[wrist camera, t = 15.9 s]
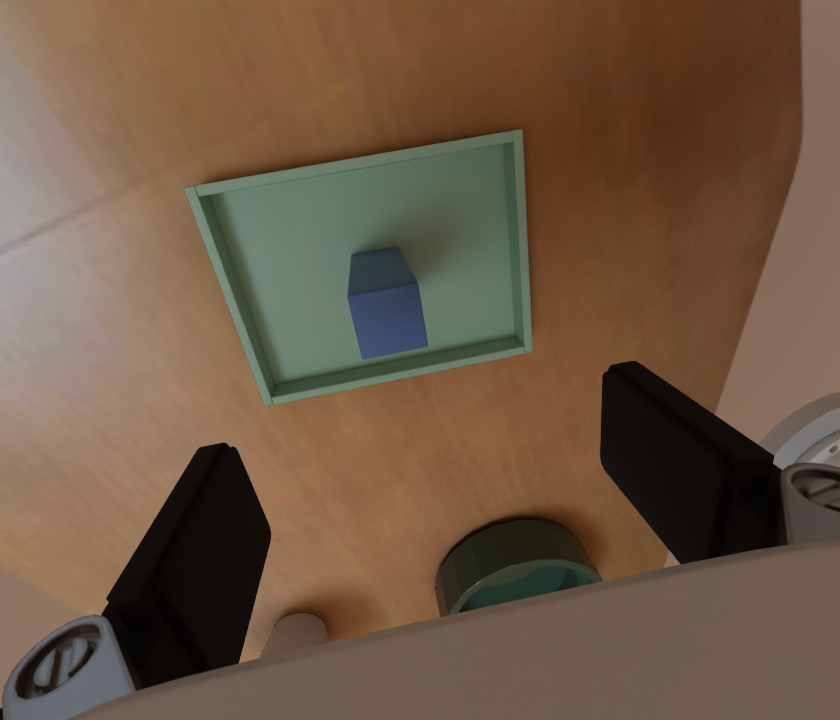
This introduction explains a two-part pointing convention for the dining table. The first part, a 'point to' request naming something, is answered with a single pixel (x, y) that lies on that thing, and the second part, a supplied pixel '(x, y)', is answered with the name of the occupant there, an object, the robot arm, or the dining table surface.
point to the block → (385, 303)
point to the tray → (366, 231)
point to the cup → (295, 634)
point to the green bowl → (512, 566)
